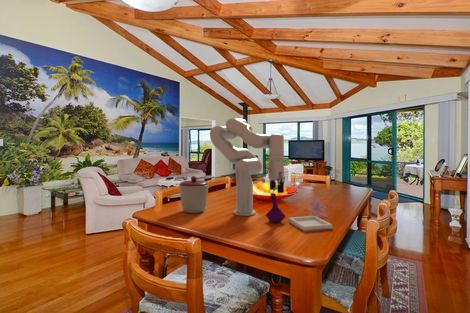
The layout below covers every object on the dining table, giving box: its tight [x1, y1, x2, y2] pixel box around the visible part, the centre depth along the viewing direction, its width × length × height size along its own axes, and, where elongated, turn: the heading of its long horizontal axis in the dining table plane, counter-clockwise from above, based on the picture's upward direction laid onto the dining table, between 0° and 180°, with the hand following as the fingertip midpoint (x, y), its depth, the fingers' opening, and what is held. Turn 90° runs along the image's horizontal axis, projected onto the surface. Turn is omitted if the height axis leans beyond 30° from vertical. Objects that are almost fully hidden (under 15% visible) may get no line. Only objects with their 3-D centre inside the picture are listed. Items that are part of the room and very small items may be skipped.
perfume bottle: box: [265, 186, 286, 224], centre depth 133 cm, size 8×8×18 cm
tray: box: [288, 215, 333, 233], centre depth 128 cm, size 15×15×2 cm
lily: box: [307, 196, 328, 218], centre depth 145 cm, size 12×12×10 cm
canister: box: [178, 175, 210, 214], centre depth 153 cm, size 18×18×21 cm
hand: (276, 191), depth 132 cm, fingers open, 9 cm apart
